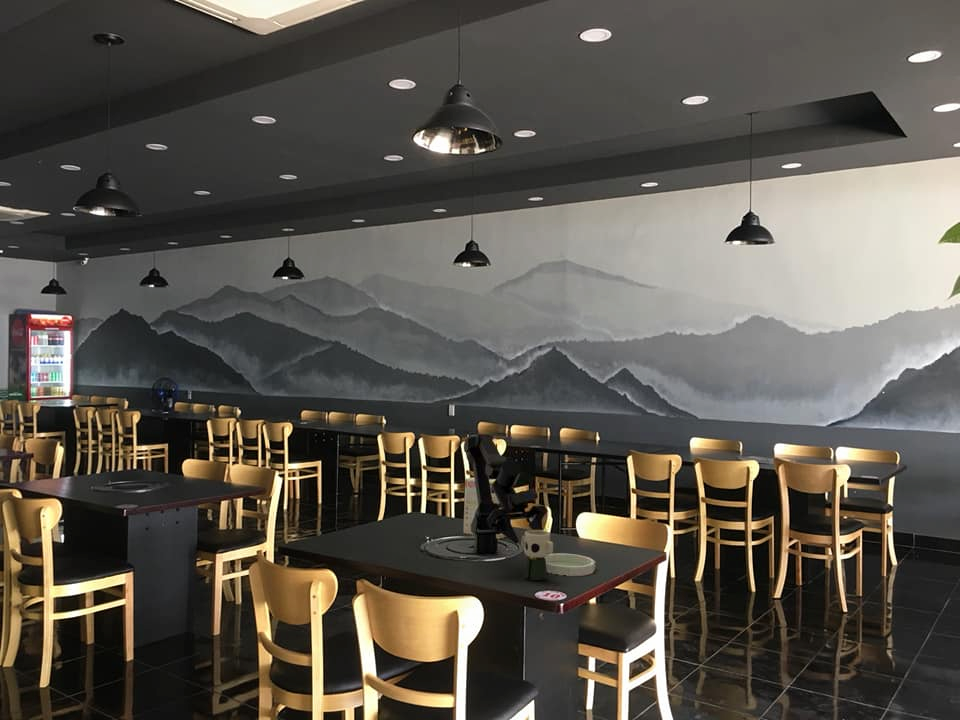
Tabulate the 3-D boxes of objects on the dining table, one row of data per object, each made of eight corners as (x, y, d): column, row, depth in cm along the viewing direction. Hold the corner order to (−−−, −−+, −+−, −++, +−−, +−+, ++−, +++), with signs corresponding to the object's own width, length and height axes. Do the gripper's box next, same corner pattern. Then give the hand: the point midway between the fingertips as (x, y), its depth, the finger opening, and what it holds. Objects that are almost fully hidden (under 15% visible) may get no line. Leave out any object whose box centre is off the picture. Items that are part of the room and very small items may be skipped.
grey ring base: (548, 576, 213) (549, 567, 213) (533, 562, 229) (533, 554, 229) (602, 575, 217) (602, 566, 217) (583, 561, 232) (583, 553, 232)
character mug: (512, 577, 211) (514, 530, 212) (528, 572, 217) (530, 527, 217) (543, 585, 204) (545, 537, 204) (559, 580, 209) (560, 533, 210)
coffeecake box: (508, 536, 264) (510, 480, 265) (497, 539, 259) (499, 482, 259) (474, 530, 273) (476, 476, 273) (462, 533, 267) (464, 478, 268)
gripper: (494, 480, 212) (517, 527, 203) (544, 477, 223) (568, 521, 214) (476, 504, 218) (498, 550, 209) (526, 500, 229) (549, 543, 220)
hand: (530, 541), depth 213 cm, fingers open, 9 cm apart
